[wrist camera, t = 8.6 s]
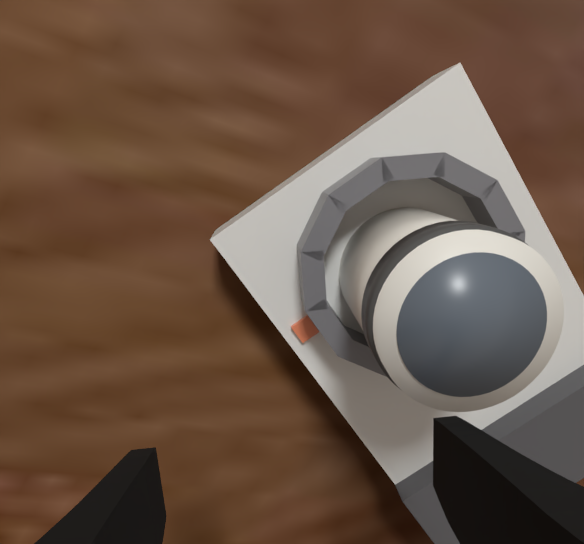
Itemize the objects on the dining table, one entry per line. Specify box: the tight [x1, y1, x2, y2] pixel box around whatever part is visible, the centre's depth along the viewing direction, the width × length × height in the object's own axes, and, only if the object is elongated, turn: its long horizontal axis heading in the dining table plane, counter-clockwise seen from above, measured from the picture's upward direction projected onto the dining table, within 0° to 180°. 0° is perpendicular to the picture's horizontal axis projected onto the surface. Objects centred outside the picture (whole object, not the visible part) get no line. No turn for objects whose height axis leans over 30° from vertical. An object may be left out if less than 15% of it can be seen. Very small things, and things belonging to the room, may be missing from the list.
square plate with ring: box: [210, 63, 584, 544], centre depth 19 cm, size 18×11×4 cm, turn 35°
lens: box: [339, 207, 564, 412], centre depth 15 cm, size 5×5×6 cm
